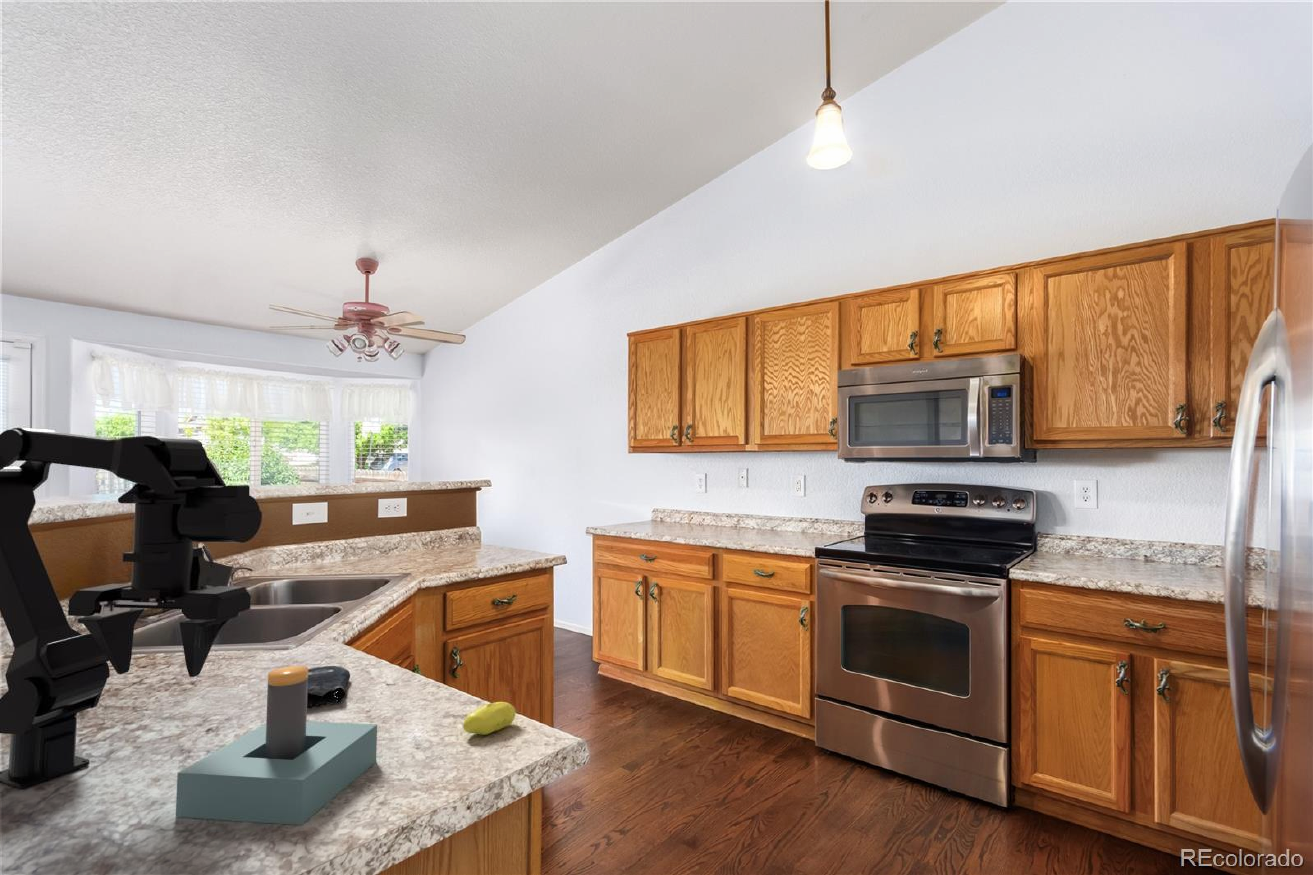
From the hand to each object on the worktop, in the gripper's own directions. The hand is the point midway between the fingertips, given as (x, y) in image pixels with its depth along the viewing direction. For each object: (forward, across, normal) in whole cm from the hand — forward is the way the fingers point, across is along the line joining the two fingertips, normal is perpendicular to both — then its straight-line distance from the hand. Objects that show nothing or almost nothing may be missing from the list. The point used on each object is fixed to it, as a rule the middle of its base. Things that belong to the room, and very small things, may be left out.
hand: (158, 674), depth 74 cm
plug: (+12, -16, 0) cm, 20 cm away
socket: (+12, -16, 0) cm, 20 cm away
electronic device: (+13, -1, -29) cm, 31 cm away
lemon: (+12, -34, -17) cm, 40 cm away
